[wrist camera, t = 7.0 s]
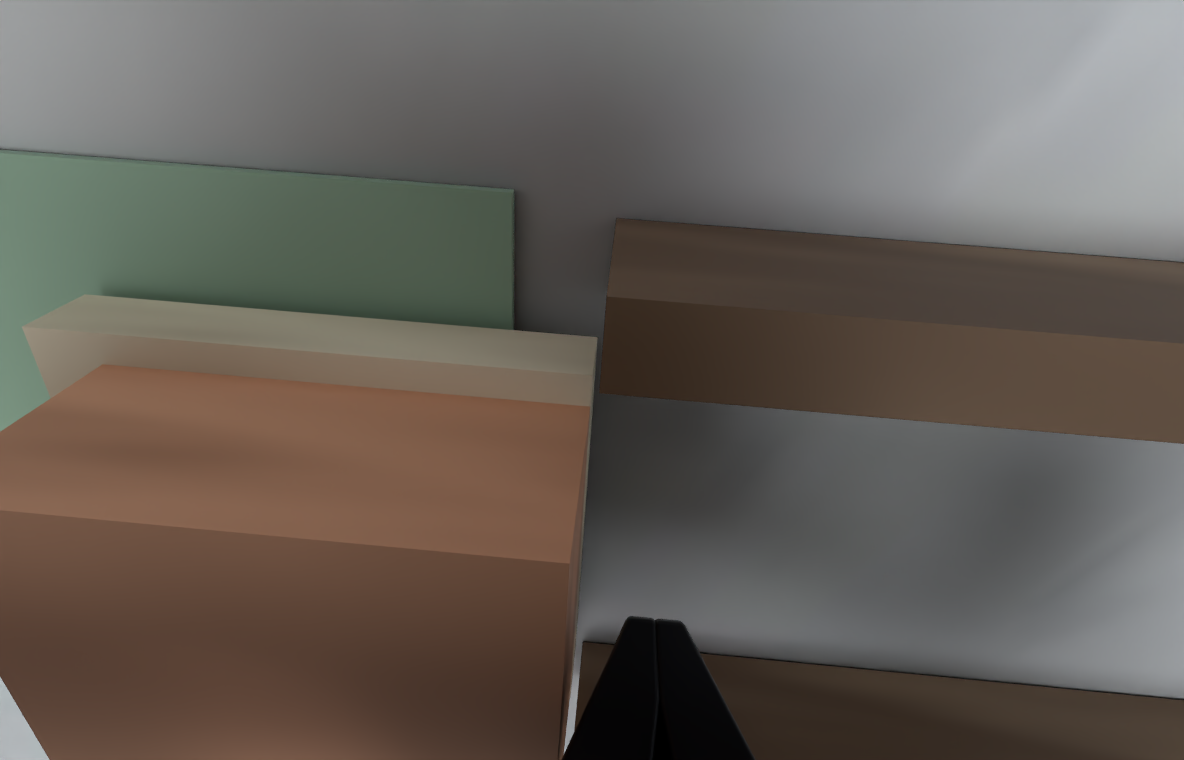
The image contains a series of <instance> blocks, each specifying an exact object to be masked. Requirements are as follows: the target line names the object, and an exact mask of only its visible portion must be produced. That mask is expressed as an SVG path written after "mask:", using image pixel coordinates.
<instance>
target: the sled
mask: <svg viewBox="0 0 1184 760" xmlns="http://www.w3.org/2000/svg"><path fill="white" fill-rule="evenodd" d="M22 329H23V331H24V334H25V336H26V339H27V341H28V344H29V346H30V348H31V351H32V353H33V356H34V358H35V361H36V363H37V366H38V368H39V371H40V373H41V376H42V378H43V381H44V383H45V386H46V388H47V391H48V393H49V395H50V398H51V399H49V400H48V401H46V402H44V403H43V404H41V405H40V406H38V407H37V408H35V409H34V410H32V411H31V412H29V413H28V414H26V415H25V416H23V417H22V418H20V419H19V420H17V421H16V422H14V423H13V424H11V425H10V426H8V427H7V428H5V429H4V430H2V431H0V677H1V679H2V680H3V682H4V684H5V685H6V687H7V689H8V690H9V692H10V694H11V695H12V697H13V699H14V700H15V702H16V704H17V706H18V707H19V709H20V711H21V712H22V714H23V716H24V717H25V719H26V721H27V722H28V724H29V726H30V727H31V729H32V731H33V732H34V734H35V736H36V738H37V739H38V741H39V743H40V744H41V746H42V748H43V749H44V751H45V753H46V754H47V756H48V758H49V759H50V760H562V758H563V754H564V745H565V735H566V726H567V717H568V707H569V699H570V694H571V685H572V675H573V666H574V656H575V647H576V634H577V620H578V606H579V592H580V578H581V564H582V550H583V536H584V522H585V508H586V494H587V480H588V466H589V452H590V438H591V424H592V410H593V396H594V382H595V368H596V354H597V340H598V337H589V336H577V335H565V334H553V333H541V332H529V331H517V330H505V329H493V328H481V327H469V326H458V325H446V324H434V323H422V322H410V321H398V320H386V319H374V318H362V317H350V316H338V315H326V314H314V313H302V312H290V311H278V310H267V309H255V308H243V307H231V306H219V305H207V304H195V303H183V302H171V301H159V300H147V299H135V298H123V297H111V296H99V295H87V294H84V295H83V296H81V297H79V298H77V299H75V300H73V301H71V302H69V303H67V304H65V305H63V306H61V307H59V308H57V309H55V310H53V311H51V312H49V313H47V314H45V315H44V316H42V317H40V318H38V319H36V320H34V321H32V322H30V323H28V324H26V325H24V326H22Z"/></svg>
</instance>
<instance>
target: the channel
mask: <svg viewBox="0 0 1184 760" xmlns="http://www.w3.org/2000/svg"><path fill="white" fill-rule="evenodd" d="M599 393H601V394H613V395H624V396H636V397H648V398H659V399H671V400H682V401H694V402H706V403H717V404H729V405H740V406H752V407H764V408H775V409H787V410H798V411H810V412H822V413H833V414H845V415H856V416H868V417H880V418H891V419H903V420H914V421H926V422H938V423H949V424H961V425H972V426H984V427H996V428H1007V429H1019V430H1030V431H1042V432H1053V433H1065V434H1077V435H1088V436H1100V437H1111V438H1123V439H1135V440H1146V441H1158V442H1169V443H1181V444H1184V263H1181V262H1168V261H1155V260H1143V259H1130V258H1117V257H1104V256H1092V255H1079V254H1066V253H1053V252H1041V251H1028V250H1015V249H1002V248H990V247H977V246H964V245H952V244H939V243H926V242H913V241H901V240H888V239H875V238H862V237H850V236H837V235H824V234H811V233H799V232H786V231H773V230H760V229H748V228H735V227H722V226H710V225H697V224H684V223H671V222H659V221H646V220H633V219H620V218H616V226H615V234H614V242H613V250H612V257H611V265H610V273H609V281H608V289H607V298H606V311H605V324H604V337H603V350H602V363H601V376H600V389H599ZM613 647H614V645H608V644H598V643H587V642H583V646H582V656H581V667H580V678H579V688H578V699H577V709H576V720H575V729H576V727H577V725H578V723H579V721H580V719H581V716H582V714H583V712H584V710H585V708H586V706H587V703H588V701H589V699H590V697H591V695H592V693H593V690H594V688H595V686H596V684H597V682H598V679H599V677H600V675H601V673H602V671H603V669H604V666H605V664H606V662H607V660H608V658H609V656H610V653H611V651H612V649H613ZM700 655H701V657H702V658H703V660H704V662H705V664H706V666H707V668H708V670H709V672H710V674H711V676H712V677H713V679H714V681H715V683H716V685H717V687H718V689H719V691H720V693H721V695H722V696H723V698H724V700H725V702H726V704H727V706H728V708H729V710H730V712H731V714H732V715H733V717H734V719H735V721H736V723H737V725H738V727H739V729H740V731H741V733H742V734H743V736H744V738H745V740H746V742H747V744H748V746H749V748H750V750H751V752H752V754H753V755H754V757H755V759H756V760H1184V700H1174V699H1163V698H1153V697H1143V696H1133V695H1122V694H1112V693H1102V692H1091V691H1081V690H1071V689H1061V688H1050V687H1040V686H1030V685H1019V684H1009V683H999V682H989V681H978V680H968V679H958V678H947V677H937V676H927V675H917V674H906V673H896V672H886V671H875V670H865V669H855V668H845V667H834V666H824V665H814V664H803V663H793V662H783V661H773V660H762V659H752V658H742V657H731V656H721V655H711V654H701V653H700ZM574 732H575V730H574Z"/></svg>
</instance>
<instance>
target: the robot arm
mask: <svg viewBox="0 0 1184 760" xmlns="http://www.w3.org/2000/svg"><path fill="white" fill-rule="evenodd" d="M562 760H756V759H755V757H754V755H753V754H752V752H751V750H750V748H749V746H748V744H747V742H746V740H745V738H744V736H743V734H742V733H741V731H740V729H739V727H738V725H737V723H736V721H735V719H734V717H733V715H732V714H731V712H730V710H729V708H728V706H727V704H726V702H725V700H724V698H723V696H722V695H721V693H720V691H719V689H718V687H717V685H716V683H715V681H714V679H713V677H712V676H711V674H710V672H709V670H708V668H707V666H706V664H705V662H704V660H703V658H702V657H701V655H700V653H699V651H698V649H697V647H696V645H695V643H694V641H693V639H692V637H691V636H690V634H689V632H688V630H687V628H686V626H685V625H684V624H683V623H682V622H681V621H678V620H668V619H656V620H654V619H653V618H647V617H636V616H630V617H628V618H627V619H626V621H625V623H624V625H623V627H622V629H621V632H620V634H619V636H618V638H617V640H616V643H615V645H614V647H613V649H612V651H611V653H610V656H609V658H608V660H607V662H606V664H605V666H604V669H603V671H602V673H601V675H600V677H599V679H598V682H597V684H596V686H595V688H594V690H593V693H592V695H591V697H590V699H589V701H588V703H587V706H586V708H585V710H584V712H583V714H582V716H581V719H580V721H579V723H578V725H577V727H576V729H575V732H574V734H573V736H572V738H571V740H570V743H569V745H568V747H567V749H566V751H565V753H564V756H563V758H562Z"/></svg>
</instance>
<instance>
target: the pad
mask: <svg viewBox="0 0 1184 760" xmlns="http://www.w3.org/2000/svg"><path fill="white" fill-rule="evenodd" d="M84 294H87V295H99V296H111V297H123V298H135V299H147V300H159V301H171V302H183V303H195V304H207V305H219V306H231V307H243V308H255V309H267V310H278V311H290V312H302V313H314V314H326V315H338V316H350V317H362V318H374V319H386V320H398V321H410V322H422V323H434V324H446V325H458V326H469V327H481V328H493V329H505V330H514V189H502V188H489V187H476V186H463V185H450V184H437V183H424V182H412V181H399V180H386V179H373V178H360V177H347V176H334V175H321V174H308V173H296V172H283V171H270V170H257V169H244V168H231V167H218V166H205V165H192V164H180V163H167V162H154V161H141V160H128V159H115V158H102V157H89V156H76V155H64V154H51V153H38V152H25V151H12V150H0V431H2V430H4V429H5V428H7V427H8V426H10V425H11V424H13V423H14V422H16V421H17V420H19V419H20V418H22V417H23V416H25V415H26V414H28V413H29V412H31V411H32V410H34V409H35V408H37V407H38V406H40V405H41V404H43V403H44V402H46V401H48V400H49V399H51V398H50V395H49V393H48V391H47V388H46V386H45V383H44V381H43V378H42V376H41V373H40V371H39V368H38V366H37V363H36V361H35V358H34V356H33V353H32V351H31V348H30V346H29V344H28V341H27V339H26V336H25V334H24V331H23V329H22V326H24V325H26V324H28V323H30V322H32V321H34V320H36V319H38V318H40V317H42V316H44V315H45V314H47V313H49V312H51V311H53V310H55V309H57V308H59V307H61V306H63V305H65V304H67V303H69V302H71V301H73V300H75V299H77V298H79V297H81V296H83V295H84Z"/></svg>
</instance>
